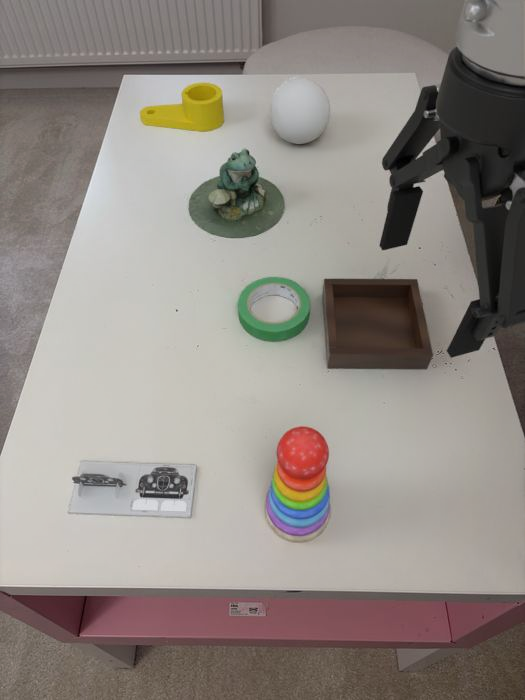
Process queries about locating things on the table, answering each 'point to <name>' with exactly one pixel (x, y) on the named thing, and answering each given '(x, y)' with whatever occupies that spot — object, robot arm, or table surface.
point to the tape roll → (274, 329)
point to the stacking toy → (299, 486)
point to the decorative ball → (299, 110)
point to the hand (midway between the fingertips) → (425, 294)
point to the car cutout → (133, 489)
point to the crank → (189, 110)
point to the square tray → (375, 324)
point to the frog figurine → (237, 200)
